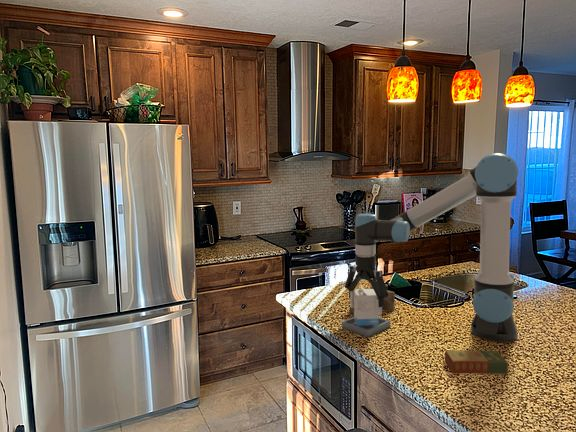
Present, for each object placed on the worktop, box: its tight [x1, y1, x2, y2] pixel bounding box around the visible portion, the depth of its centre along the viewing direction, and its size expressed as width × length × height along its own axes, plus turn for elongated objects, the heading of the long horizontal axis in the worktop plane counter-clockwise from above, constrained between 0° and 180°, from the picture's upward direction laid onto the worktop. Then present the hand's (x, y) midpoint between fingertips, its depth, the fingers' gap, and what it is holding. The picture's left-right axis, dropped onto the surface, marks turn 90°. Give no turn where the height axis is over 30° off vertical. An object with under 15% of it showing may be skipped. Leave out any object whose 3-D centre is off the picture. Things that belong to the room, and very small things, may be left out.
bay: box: [348, 286, 396, 314], centre depth 181 cm, size 13×14×8 cm
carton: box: [444, 349, 509, 375], centre depth 131 cm, size 8×16×4 cm, turn 85°
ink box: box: [353, 285, 380, 326], centre depth 163 cm, size 9×8×13 cm
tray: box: [341, 316, 391, 338], centre depth 164 cm, size 13×14×2 cm
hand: (365, 310), depth 163 cm, fingers open, 12 cm apart
